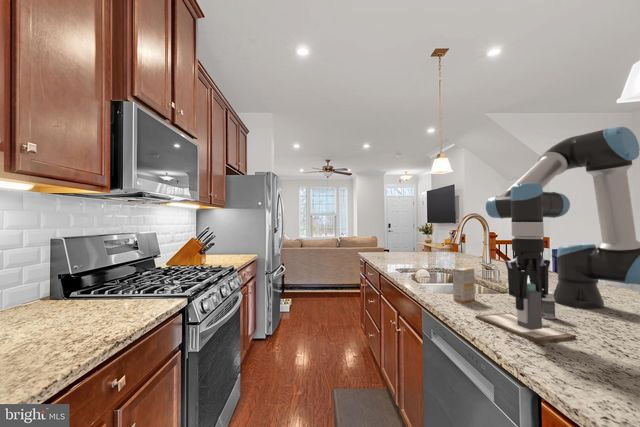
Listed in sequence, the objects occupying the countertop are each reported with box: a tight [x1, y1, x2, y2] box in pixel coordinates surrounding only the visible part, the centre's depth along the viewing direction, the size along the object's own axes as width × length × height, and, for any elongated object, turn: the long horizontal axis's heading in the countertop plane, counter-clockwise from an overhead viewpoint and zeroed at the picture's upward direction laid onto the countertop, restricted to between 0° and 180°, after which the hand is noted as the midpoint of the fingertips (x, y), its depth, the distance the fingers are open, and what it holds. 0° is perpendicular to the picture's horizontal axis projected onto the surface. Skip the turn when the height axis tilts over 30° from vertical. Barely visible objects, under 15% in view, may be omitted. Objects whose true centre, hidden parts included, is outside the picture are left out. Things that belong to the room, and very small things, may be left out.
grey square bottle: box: [518, 282, 543, 330], centre depth 85 cm, size 4×4×12 cm
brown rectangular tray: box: [475, 312, 577, 344], centre depth 91 cm, size 13×22×1 cm, turn 14°
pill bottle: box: [542, 290, 556, 320], centre depth 101 cm, size 5×5×8 cm
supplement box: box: [452, 266, 476, 303], centre depth 124 cm, size 8×5×13 cm, turn 122°
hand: (529, 320), depth 85 cm, fingers closed on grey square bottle, 4 cm apart
